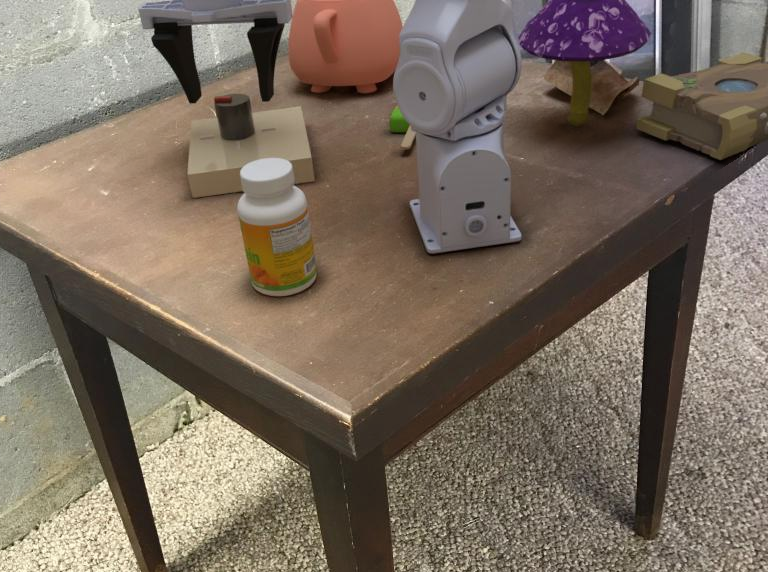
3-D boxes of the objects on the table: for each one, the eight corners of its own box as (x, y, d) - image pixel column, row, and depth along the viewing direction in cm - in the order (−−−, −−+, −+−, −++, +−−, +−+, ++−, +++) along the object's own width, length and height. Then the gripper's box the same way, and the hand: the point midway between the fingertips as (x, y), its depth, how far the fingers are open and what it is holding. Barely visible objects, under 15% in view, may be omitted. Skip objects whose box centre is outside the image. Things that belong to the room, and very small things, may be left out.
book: (732, 92, 93) (743, 44, 90) (825, 124, 86) (841, 73, 83) (635, 128, 87) (643, 78, 84) (727, 166, 80) (739, 113, 77)
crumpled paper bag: (638, 76, 89) (660, 97, 95) (556, 17, 94) (582, 42, 100) (601, 123, 91) (625, 141, 97) (523, 64, 96) (551, 84, 102)
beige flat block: (315, 181, 86) (311, 155, 84) (192, 198, 85) (186, 172, 83) (304, 128, 97) (301, 104, 95) (196, 143, 96) (190, 119, 94)
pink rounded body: (423, 51, 113) (418, -52, 106) (383, 110, 99) (374, -5, 91) (326, 51, 117) (315, -49, 109) (273, 107, 102) (256, -3, 95)
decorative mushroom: (491, 132, 91) (491, -24, 81) (564, 94, 97) (572, -54, 88) (592, 161, 83) (605, -7, 74) (664, 118, 90) (685, -41, 80)
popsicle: (453, 101, 99) (452, 84, 98) (432, 157, 88) (431, 138, 87) (405, 101, 100) (404, 84, 99) (378, 156, 89) (377, 138, 88)
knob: (259, 126, 91) (253, 89, 89) (249, 140, 89) (243, 103, 86) (226, 126, 92) (219, 90, 90) (216, 140, 89) (208, 103, 87)
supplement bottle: (243, 275, 73) (220, 164, 67) (303, 257, 74) (286, 147, 68) (264, 305, 69) (243, 191, 63) (327, 285, 70) (312, 172, 64)
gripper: (112, -34, 78) (150, 115, 86) (269, -43, 75) (291, 112, 84) (141, -53, 83) (173, 89, 92) (288, -62, 81) (307, 86, 89)
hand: (231, 99), depth 88 cm, fingers open, 7 cm apart
